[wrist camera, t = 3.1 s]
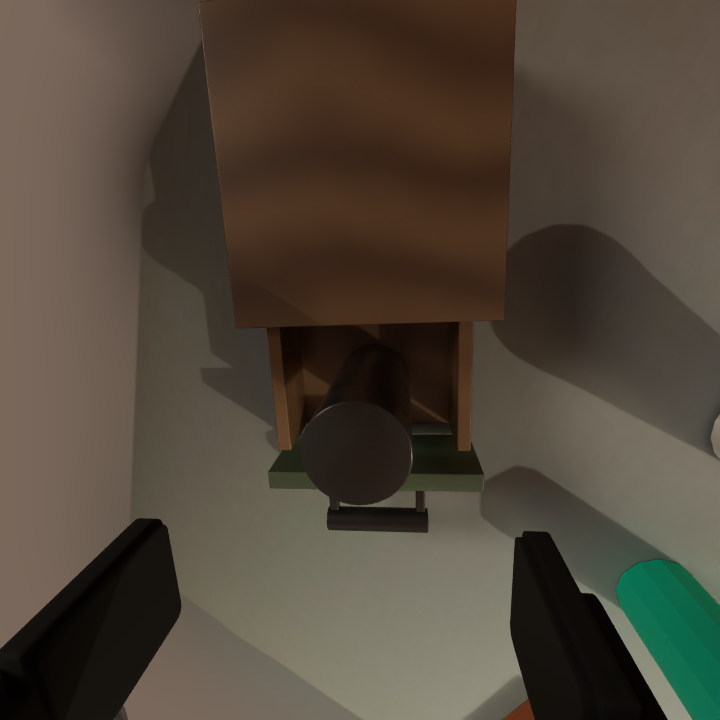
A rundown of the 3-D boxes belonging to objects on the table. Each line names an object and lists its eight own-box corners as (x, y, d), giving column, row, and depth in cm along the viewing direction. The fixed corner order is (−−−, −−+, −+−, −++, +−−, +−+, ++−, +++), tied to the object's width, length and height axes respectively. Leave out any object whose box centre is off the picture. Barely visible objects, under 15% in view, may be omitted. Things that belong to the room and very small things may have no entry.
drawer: (467, 500, 31) (482, 553, 25) (298, 497, 32) (275, 546, 27) (472, 249, 27) (491, 245, 21) (276, 259, 28) (244, 257, 22)
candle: (700, 560, 31) (878, 735, 19) (690, 622, 32) (850, 821, 21) (619, 557, 32) (743, 726, 20) (612, 619, 33) (725, 810, 22)
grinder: (343, 408, 29) (304, 504, 17) (339, 344, 28) (295, 401, 16) (409, 408, 28) (414, 507, 17) (408, 343, 27) (412, 400, 16)
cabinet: (477, 305, 28) (504, 320, 21) (277, 312, 30) (235, 328, 22) (483, 52, 25) (518, -41, 17) (255, 76, 26) (196, 0, 19)
